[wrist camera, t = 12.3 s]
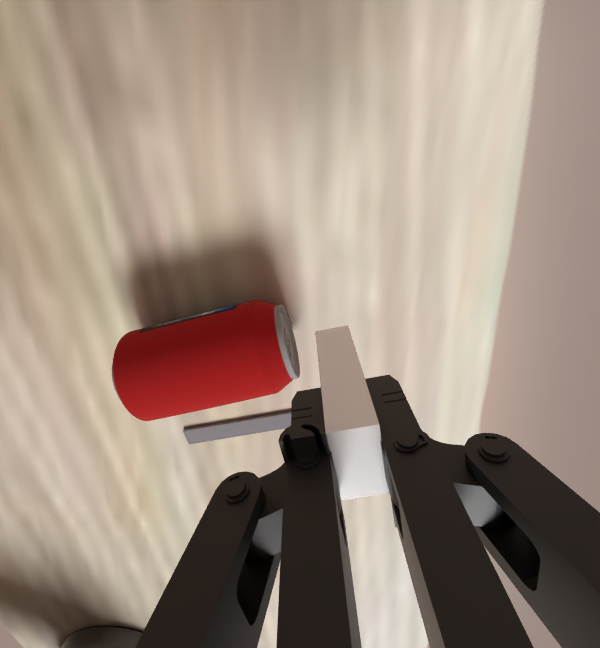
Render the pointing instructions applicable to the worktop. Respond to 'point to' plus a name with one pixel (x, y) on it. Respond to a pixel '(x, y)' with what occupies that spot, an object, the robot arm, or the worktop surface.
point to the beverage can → (205, 360)
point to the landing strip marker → (238, 427)
